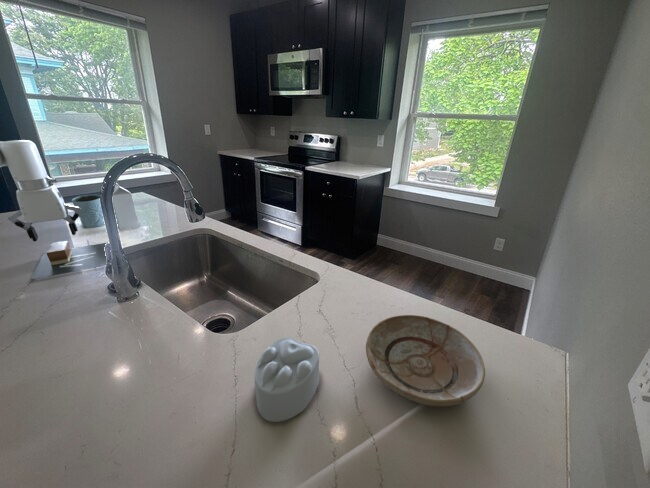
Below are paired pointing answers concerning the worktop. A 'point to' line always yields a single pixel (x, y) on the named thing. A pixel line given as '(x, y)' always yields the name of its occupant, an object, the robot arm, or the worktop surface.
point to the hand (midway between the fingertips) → (55, 236)
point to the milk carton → (124, 208)
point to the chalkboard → (72, 261)
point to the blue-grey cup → (89, 210)
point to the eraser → (59, 252)
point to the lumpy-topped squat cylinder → (286, 379)
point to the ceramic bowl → (425, 360)
